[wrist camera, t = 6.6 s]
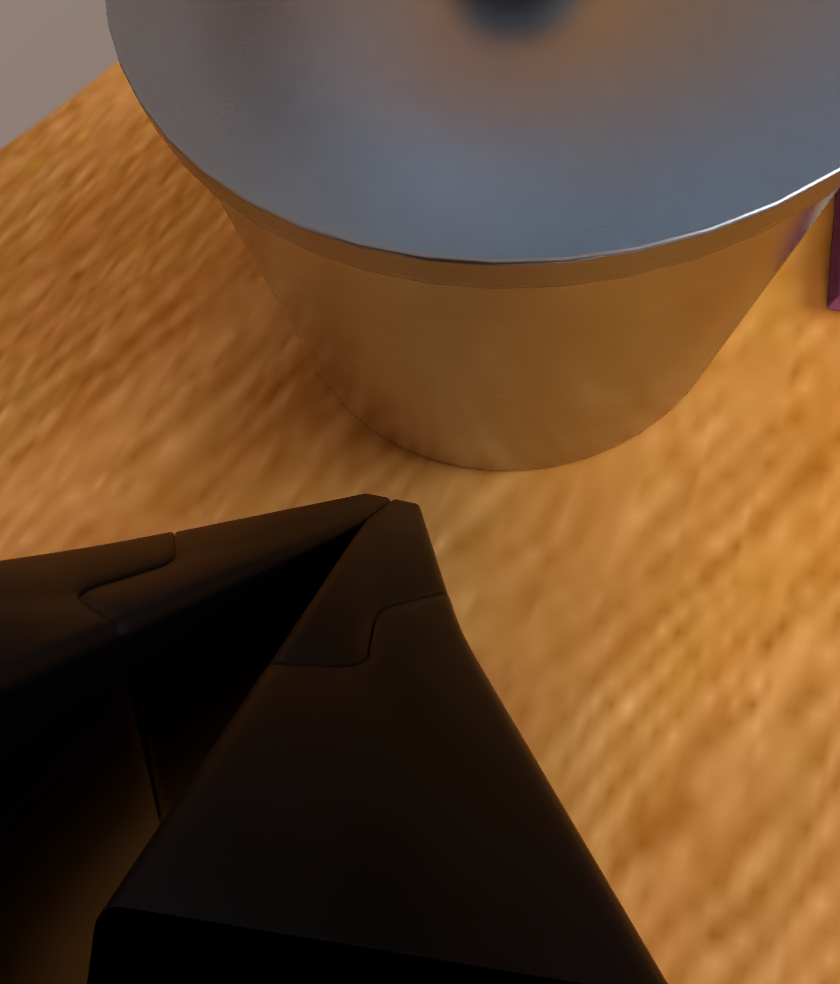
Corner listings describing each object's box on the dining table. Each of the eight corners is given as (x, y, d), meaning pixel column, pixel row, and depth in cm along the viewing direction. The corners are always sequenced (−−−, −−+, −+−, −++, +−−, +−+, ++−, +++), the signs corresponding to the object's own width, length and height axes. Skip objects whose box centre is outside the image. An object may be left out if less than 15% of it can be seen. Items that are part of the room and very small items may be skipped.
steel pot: (761, 536, 16) (1340, 261, 5) (197, 427, 18) (-213, 91, 8) (802, 112, 19) (1209, -603, 8) (319, 69, 22) (152, -520, 11)
